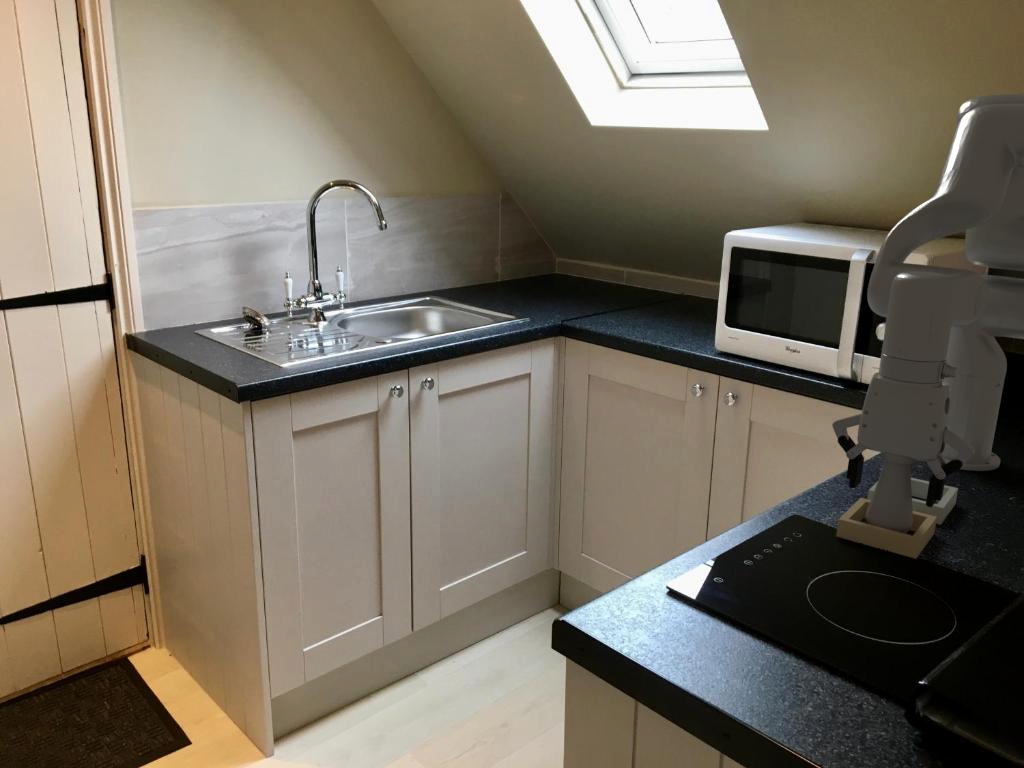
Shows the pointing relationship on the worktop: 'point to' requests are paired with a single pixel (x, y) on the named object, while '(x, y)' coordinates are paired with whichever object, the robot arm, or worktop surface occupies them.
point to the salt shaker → (892, 495)
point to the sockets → (891, 539)
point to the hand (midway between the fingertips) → (891, 494)
